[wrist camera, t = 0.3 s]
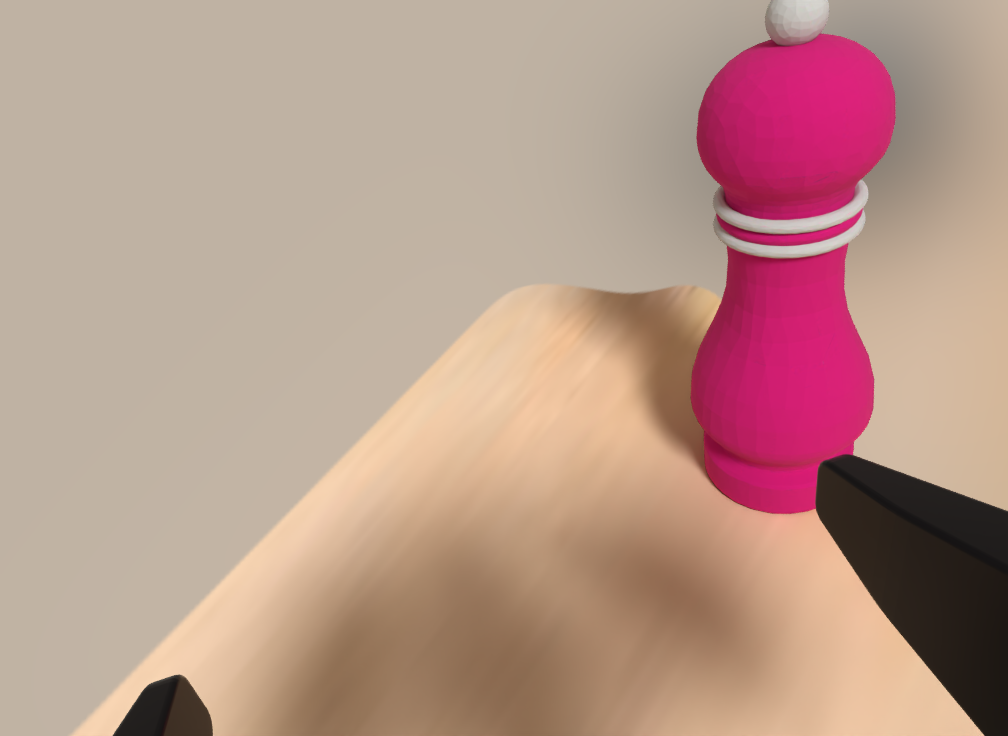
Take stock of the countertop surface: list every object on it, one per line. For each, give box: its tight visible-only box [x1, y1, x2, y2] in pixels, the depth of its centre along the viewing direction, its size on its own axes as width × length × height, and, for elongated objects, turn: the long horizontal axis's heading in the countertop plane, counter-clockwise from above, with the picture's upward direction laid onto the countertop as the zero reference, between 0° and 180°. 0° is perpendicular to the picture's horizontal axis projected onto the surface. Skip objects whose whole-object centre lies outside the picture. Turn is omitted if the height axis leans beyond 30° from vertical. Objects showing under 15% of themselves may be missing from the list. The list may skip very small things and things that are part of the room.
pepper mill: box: [691, 0, 896, 514], centre depth 26 cm, size 7×7×20 cm
